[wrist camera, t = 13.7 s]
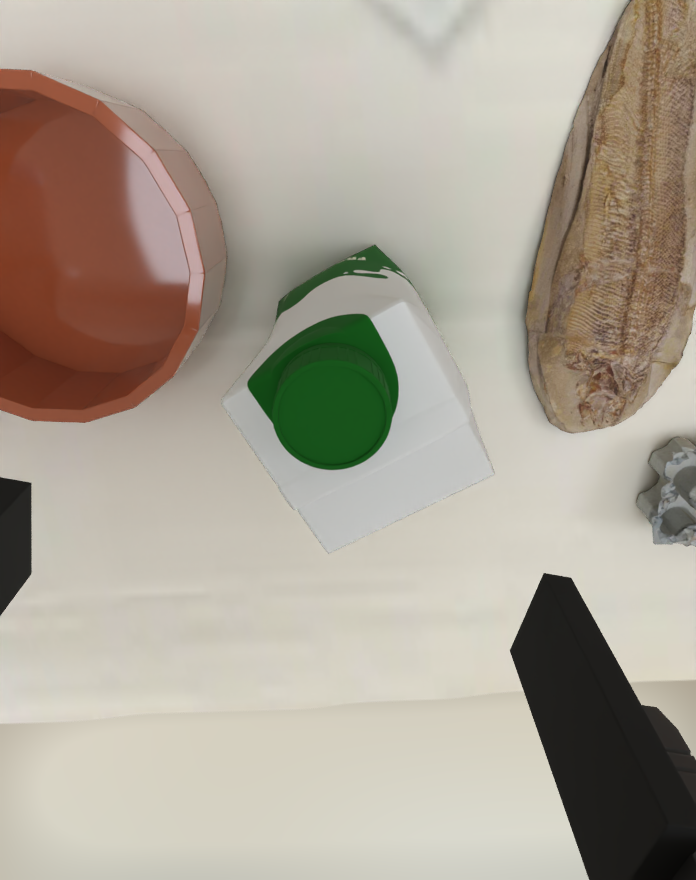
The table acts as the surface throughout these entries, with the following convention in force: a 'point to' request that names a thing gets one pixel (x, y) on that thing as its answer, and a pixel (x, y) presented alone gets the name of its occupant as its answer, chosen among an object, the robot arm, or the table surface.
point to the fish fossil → (621, 228)
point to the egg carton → (672, 494)
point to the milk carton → (358, 403)
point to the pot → (97, 251)
